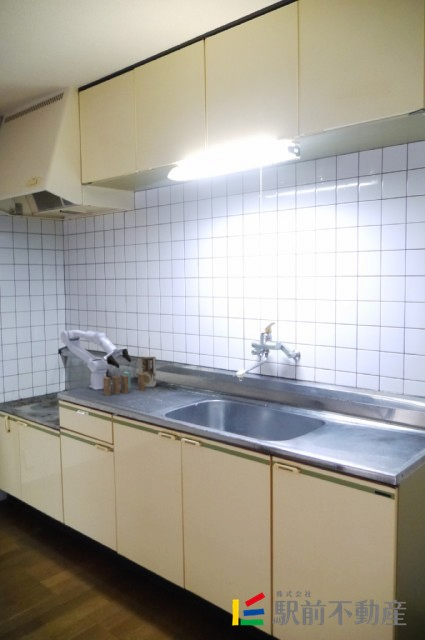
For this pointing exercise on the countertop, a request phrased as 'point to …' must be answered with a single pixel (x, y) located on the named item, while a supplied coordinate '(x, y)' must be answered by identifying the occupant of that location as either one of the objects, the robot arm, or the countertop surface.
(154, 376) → the coffee box
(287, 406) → the countertop surface
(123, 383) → the domino
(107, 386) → the domino
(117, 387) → the domino
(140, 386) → the domino
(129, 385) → the domino
